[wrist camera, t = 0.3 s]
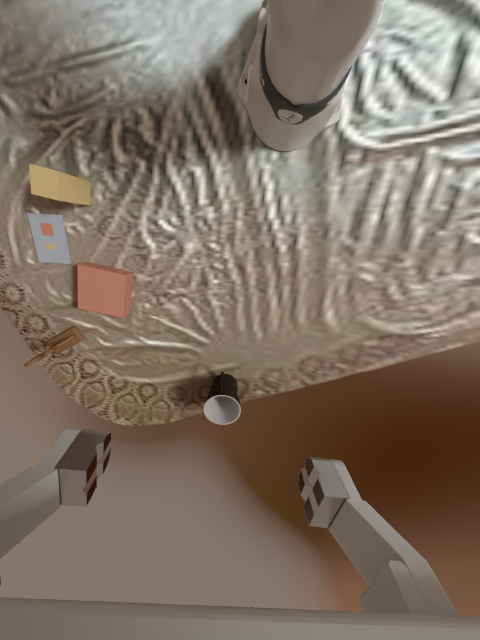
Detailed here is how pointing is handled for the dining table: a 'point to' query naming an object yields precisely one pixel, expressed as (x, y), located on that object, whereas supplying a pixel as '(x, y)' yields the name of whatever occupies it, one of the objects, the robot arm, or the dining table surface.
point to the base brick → (104, 289)
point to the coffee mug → (223, 400)
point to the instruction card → (49, 238)
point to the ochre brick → (59, 185)
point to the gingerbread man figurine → (60, 343)
